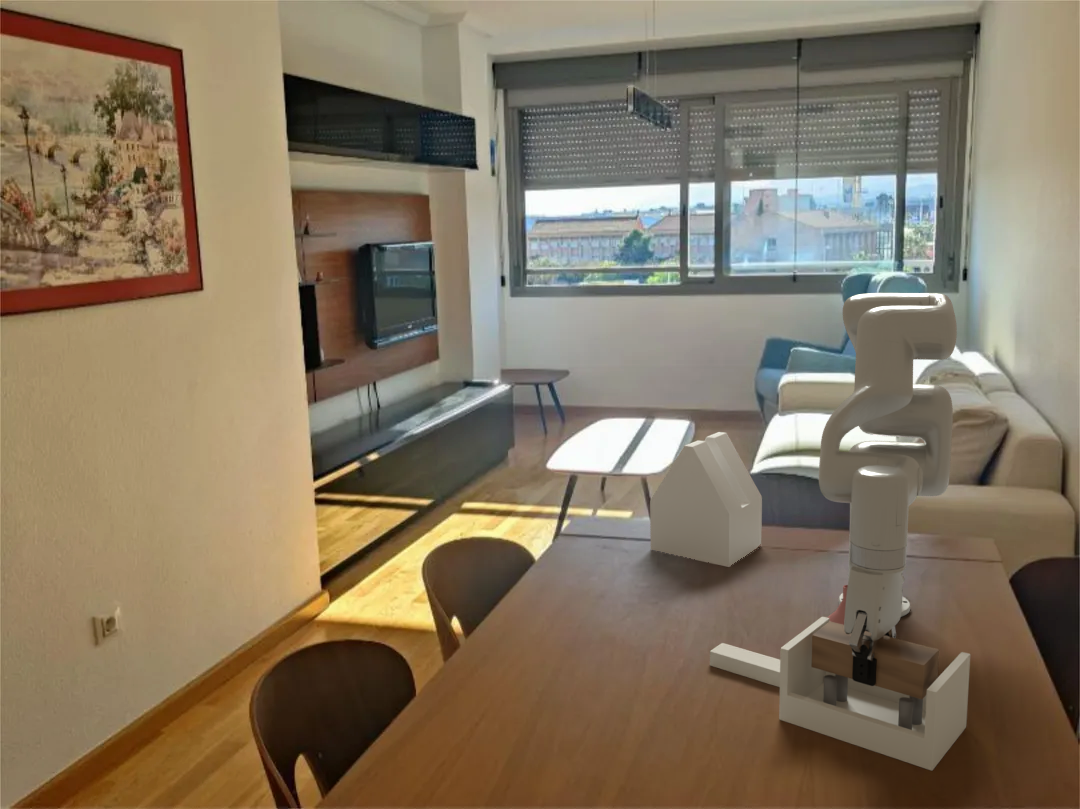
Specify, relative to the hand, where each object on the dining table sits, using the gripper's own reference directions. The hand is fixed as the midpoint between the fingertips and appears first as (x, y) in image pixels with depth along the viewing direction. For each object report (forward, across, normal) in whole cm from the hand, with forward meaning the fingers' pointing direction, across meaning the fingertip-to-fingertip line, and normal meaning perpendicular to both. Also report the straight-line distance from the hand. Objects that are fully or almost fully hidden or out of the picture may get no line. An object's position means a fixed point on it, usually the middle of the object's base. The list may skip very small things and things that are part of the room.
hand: (873, 672), depth 139 cm
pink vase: (+8, -19, -12) cm, 24 cm away
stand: (+8, 0, 0) cm, 8 cm away
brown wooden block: (0, 0, 0) cm, 0 cm away
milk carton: (+8, -51, -58) cm, 77 cm away
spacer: (+8, -4, -21) cm, 23 cm away
